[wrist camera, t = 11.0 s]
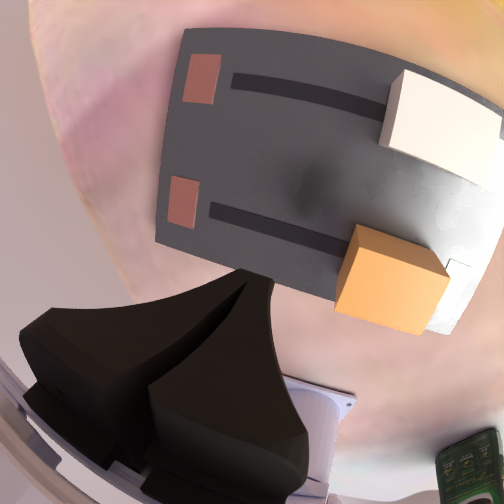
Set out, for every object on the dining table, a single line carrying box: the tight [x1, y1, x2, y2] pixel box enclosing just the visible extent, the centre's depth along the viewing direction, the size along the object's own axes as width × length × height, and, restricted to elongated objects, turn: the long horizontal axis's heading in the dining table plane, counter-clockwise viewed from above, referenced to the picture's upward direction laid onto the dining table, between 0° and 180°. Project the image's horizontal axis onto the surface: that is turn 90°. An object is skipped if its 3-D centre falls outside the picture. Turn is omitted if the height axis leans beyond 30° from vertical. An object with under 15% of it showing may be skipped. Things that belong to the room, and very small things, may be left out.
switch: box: [378, 69, 502, 189], centre depth 10 cm, size 4×5×4 cm
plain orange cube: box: [334, 224, 452, 336], centre depth 13 cm, size 4×5×4 cm
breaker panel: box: [155, 28, 504, 336], centre depth 15 cm, size 15×22×2 cm
